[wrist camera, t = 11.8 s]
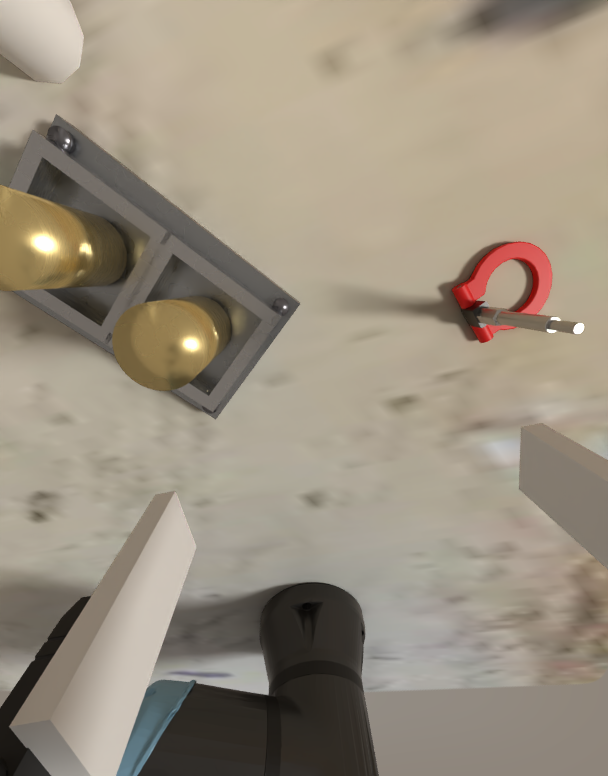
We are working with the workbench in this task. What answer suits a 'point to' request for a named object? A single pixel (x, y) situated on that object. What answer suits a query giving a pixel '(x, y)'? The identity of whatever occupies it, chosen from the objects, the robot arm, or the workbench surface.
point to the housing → (126, 256)
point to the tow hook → (496, 319)
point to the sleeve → (170, 340)
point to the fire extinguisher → (41, 38)
